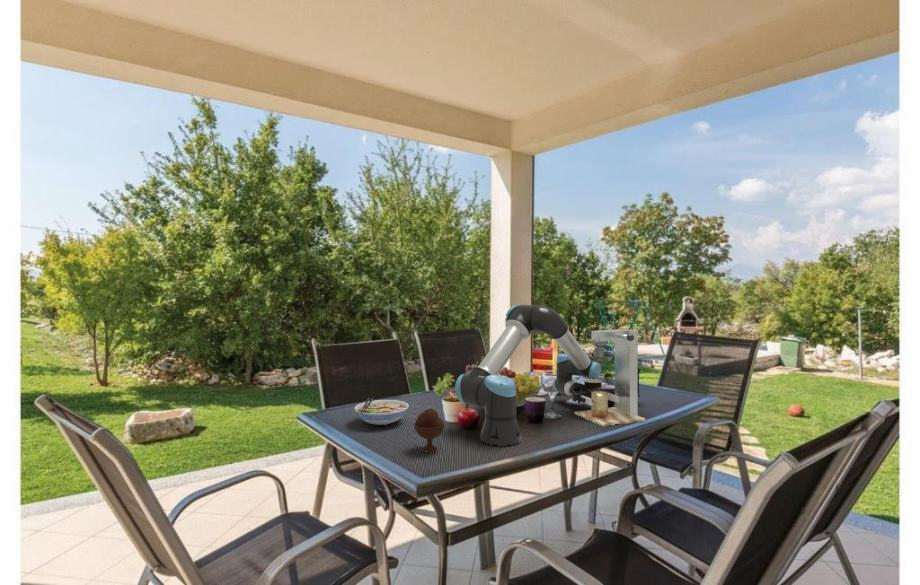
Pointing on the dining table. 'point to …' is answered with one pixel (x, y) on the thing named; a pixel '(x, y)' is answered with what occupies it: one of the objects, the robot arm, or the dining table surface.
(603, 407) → the cream pillar candle
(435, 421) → the ice cream bowl
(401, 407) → the ramen bowl
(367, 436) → the dining table surface
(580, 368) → the robot arm
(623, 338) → the press frame
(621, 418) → the plate
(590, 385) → the coffee mug
